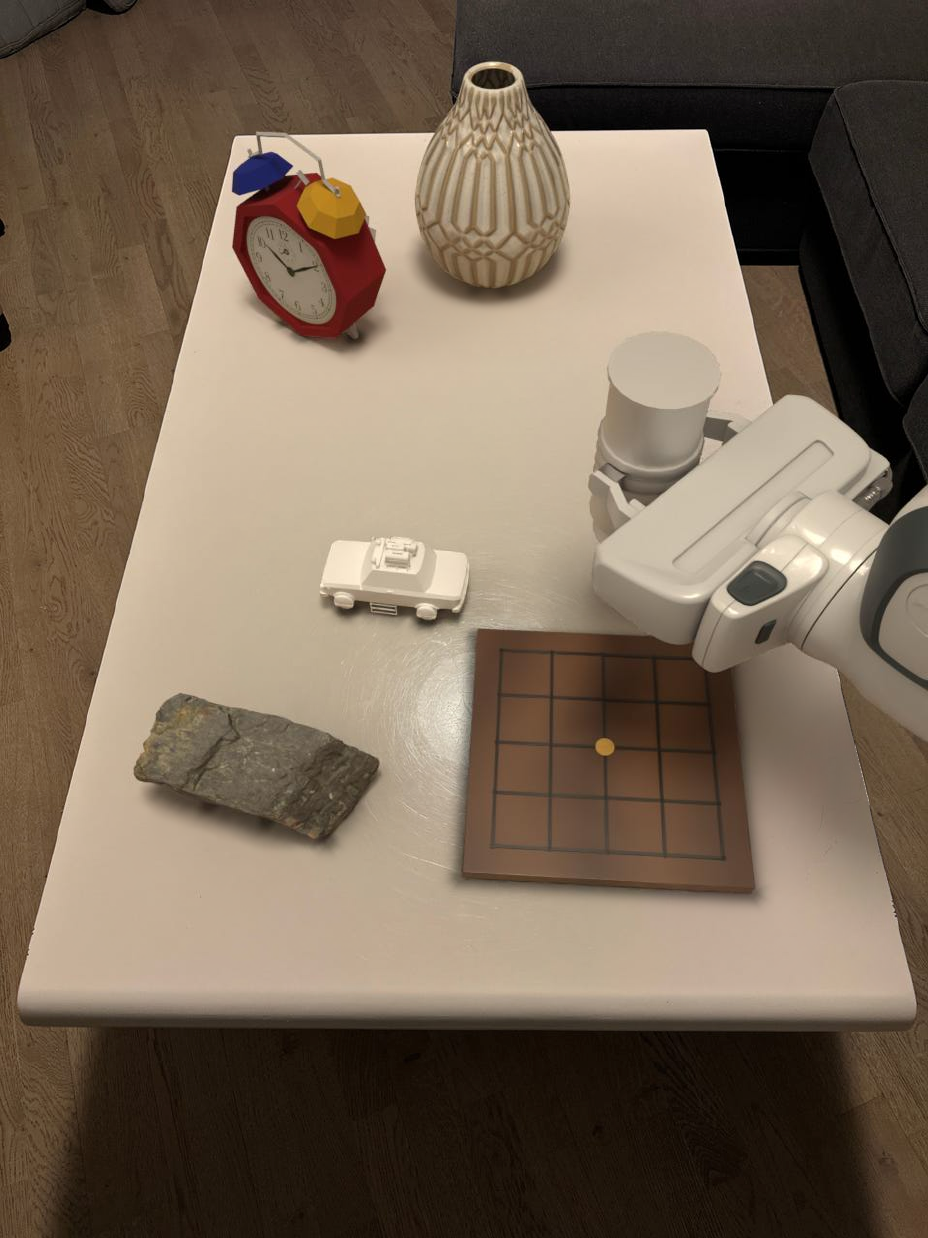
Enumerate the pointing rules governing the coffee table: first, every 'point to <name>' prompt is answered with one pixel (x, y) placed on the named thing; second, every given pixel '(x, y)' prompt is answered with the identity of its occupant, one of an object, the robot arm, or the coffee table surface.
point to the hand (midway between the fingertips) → (637, 443)
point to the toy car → (395, 575)
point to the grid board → (604, 765)
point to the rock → (254, 764)
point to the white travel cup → (653, 416)
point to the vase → (492, 183)
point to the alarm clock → (305, 244)
